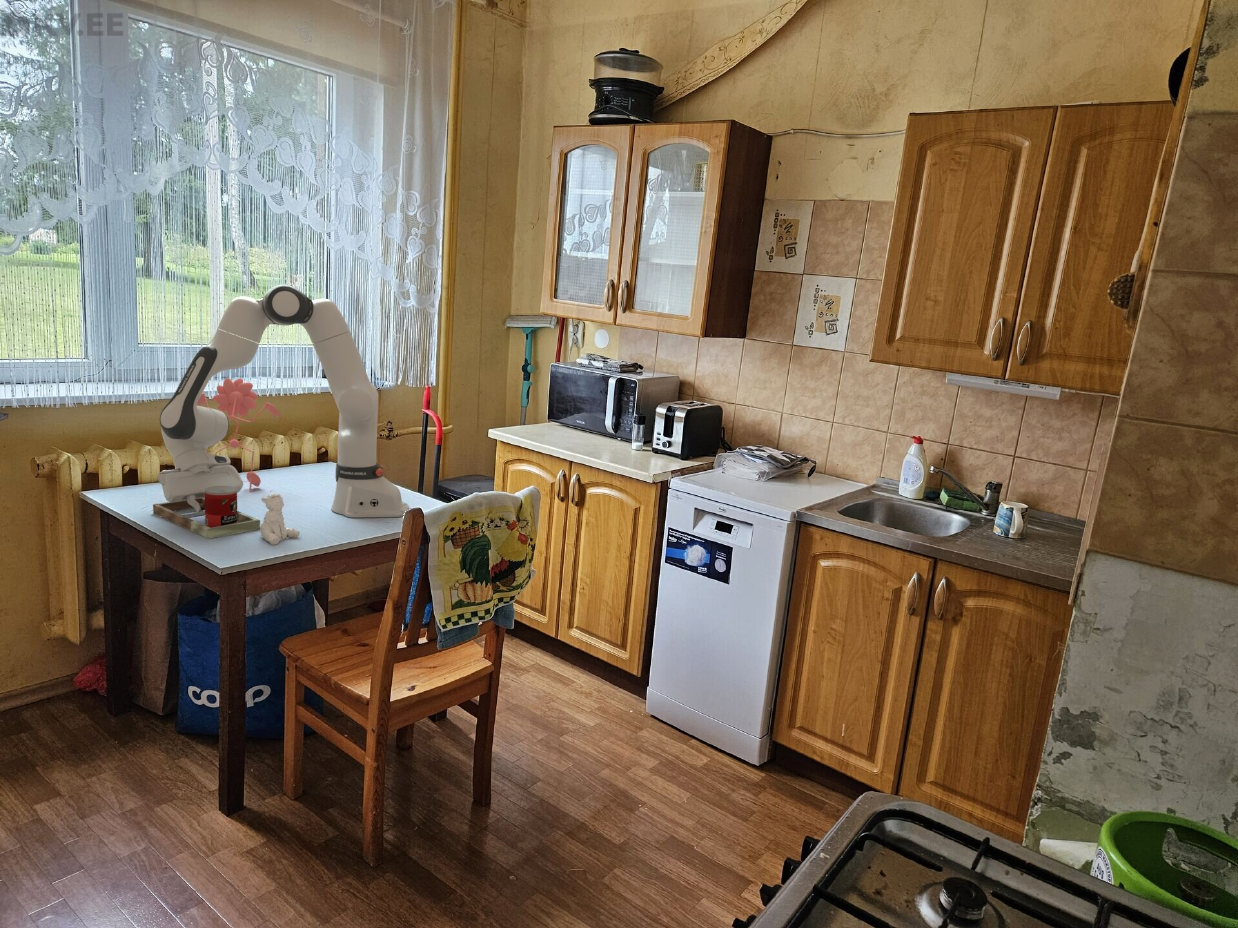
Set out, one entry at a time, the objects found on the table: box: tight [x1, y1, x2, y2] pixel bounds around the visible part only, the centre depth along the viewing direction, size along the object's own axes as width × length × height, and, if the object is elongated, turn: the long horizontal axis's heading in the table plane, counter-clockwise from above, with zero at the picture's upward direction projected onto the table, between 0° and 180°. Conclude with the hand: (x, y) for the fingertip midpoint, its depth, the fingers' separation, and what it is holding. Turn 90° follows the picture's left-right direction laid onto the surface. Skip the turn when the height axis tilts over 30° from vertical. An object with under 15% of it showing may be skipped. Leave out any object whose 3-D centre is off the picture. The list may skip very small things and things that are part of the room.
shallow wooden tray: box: [152, 498, 261, 540], centre depth 223 cm, size 30×14×2 cm, turn 53°
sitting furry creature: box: [259, 493, 300, 546], centre depth 213 cm, size 10×9×12 cm
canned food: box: [204, 486, 238, 528], centre depth 217 cm, size 8×8×11 cm
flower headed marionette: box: [197, 377, 281, 493], centre depth 257 cm, size 15×26×35 cm, turn 108°
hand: (213, 509), depth 220 cm, fingers open, 5 cm apart
